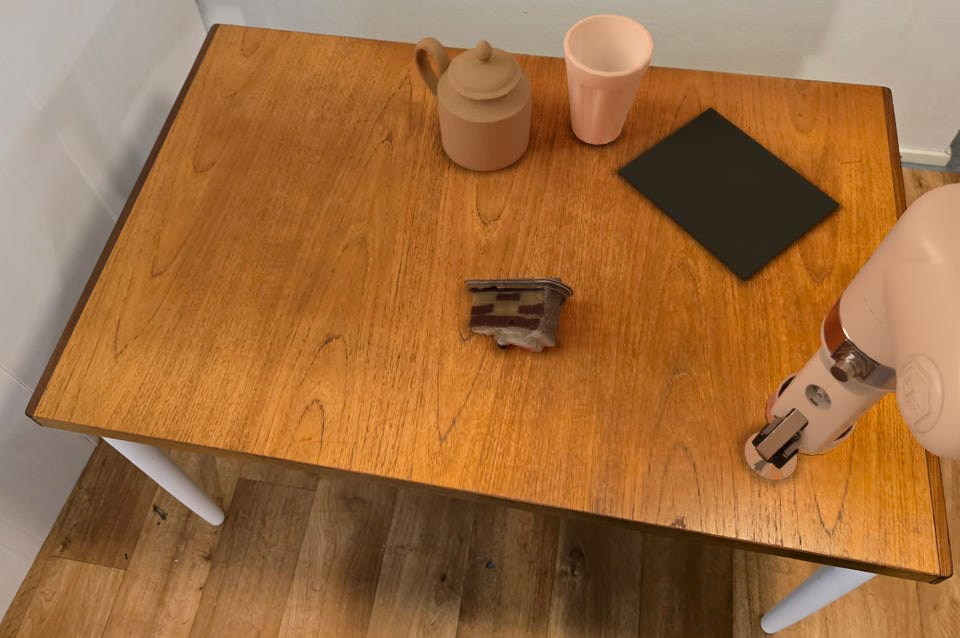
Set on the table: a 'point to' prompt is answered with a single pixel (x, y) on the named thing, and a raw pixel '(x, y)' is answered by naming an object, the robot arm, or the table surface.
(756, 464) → the wineglass
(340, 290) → the table surface
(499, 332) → the checkered cake slice
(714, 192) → the mat
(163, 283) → the table surface
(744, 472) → the table surface
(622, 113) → the cup
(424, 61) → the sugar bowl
